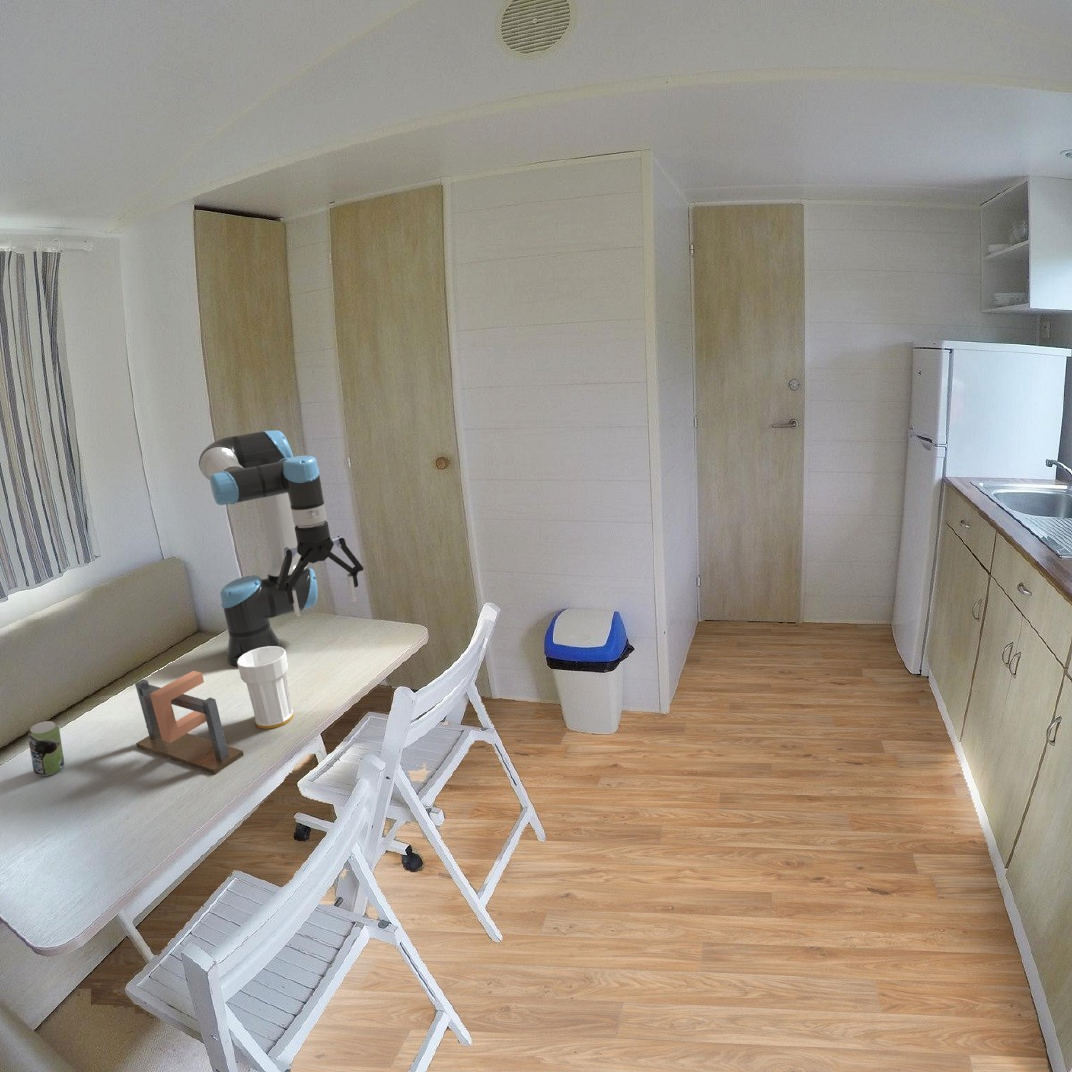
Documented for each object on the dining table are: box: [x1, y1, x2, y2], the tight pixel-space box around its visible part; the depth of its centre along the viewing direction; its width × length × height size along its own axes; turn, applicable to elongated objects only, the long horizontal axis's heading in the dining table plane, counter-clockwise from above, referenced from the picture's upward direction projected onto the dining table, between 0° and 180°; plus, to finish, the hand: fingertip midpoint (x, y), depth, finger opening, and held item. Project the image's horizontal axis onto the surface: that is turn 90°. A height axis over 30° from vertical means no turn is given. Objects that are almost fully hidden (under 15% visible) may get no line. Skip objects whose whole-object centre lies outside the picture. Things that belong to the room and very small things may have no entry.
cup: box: [237, 646, 294, 730], centre depth 189 cm, size 11×11×17 cm
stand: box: [134, 678, 244, 775], centre depth 178 cm, size 28×8×16 cm, turn 61°
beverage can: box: [27, 720, 65, 777], centre depth 176 cm, size 6×7×12 cm
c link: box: [150, 670, 207, 743], centre depth 178 cm, size 3×12×12 cm, turn 151°
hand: (326, 607), depth 185 cm, fingers open, 13 cm apart
